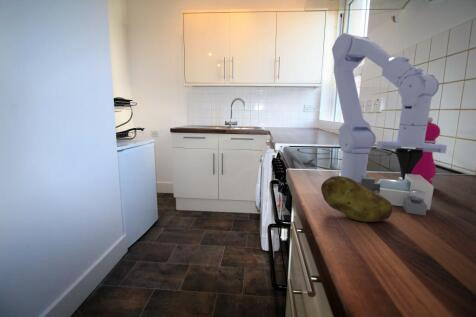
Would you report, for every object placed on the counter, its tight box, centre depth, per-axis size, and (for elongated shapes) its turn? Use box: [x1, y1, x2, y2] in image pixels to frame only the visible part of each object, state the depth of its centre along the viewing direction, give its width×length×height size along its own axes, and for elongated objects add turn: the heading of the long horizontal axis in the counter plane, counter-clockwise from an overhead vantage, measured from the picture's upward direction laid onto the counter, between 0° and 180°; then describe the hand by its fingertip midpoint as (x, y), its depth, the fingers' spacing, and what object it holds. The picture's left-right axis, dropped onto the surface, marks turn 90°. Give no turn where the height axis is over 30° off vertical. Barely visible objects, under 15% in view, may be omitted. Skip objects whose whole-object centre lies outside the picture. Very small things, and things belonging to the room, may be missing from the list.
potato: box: [320, 175, 393, 223], centre depth 51 cm, size 8×13×8 cm, turn 52°
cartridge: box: [359, 175, 411, 194], centre depth 62 cm, size 4×12×5 cm, turn 68°
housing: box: [374, 174, 435, 216], centre depth 61 cm, size 15×10×6 cm, turn 158°
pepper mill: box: [411, 116, 441, 185], centre depth 74 cm, size 7×7×20 cm
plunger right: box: [408, 190, 425, 203], centre depth 55 cm, size 3×3×4 cm
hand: (404, 178), depth 66 cm, fingers closed, pressing on plunger left
